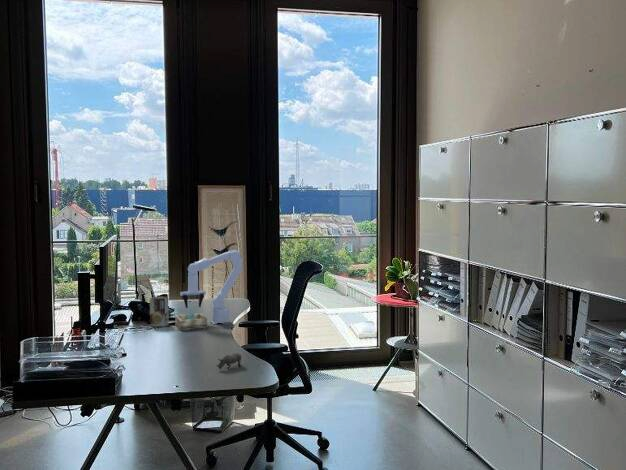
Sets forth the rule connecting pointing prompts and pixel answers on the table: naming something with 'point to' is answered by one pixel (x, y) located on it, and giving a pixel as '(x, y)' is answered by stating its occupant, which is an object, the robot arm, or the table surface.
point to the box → (190, 322)
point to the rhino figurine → (229, 360)
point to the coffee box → (159, 311)
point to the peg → (190, 316)
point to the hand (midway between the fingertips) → (193, 307)
